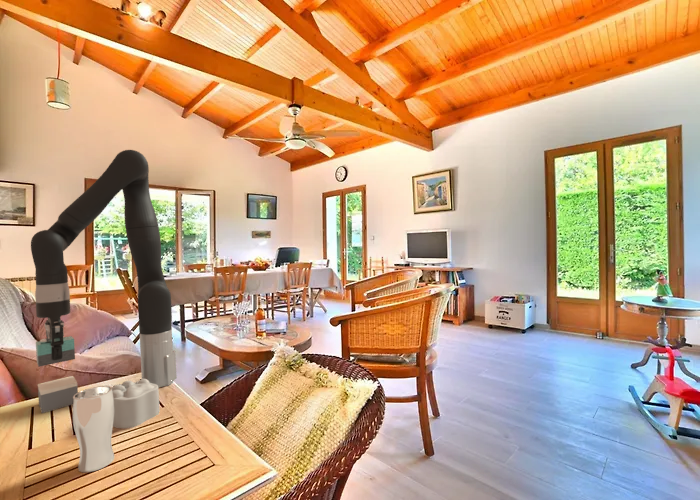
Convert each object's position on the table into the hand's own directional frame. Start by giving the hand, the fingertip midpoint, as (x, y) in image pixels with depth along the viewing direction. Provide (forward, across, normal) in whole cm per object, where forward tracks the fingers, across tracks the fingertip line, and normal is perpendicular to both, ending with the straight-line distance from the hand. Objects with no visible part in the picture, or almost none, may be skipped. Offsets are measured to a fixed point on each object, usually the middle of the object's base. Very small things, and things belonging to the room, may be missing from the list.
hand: (55, 357), depth 100 cm
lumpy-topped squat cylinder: (+14, -26, -12) cm, 32 cm away
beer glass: (+14, -43, -2) cm, 45 cm away
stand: (+14, 0, 0) cm, 14 cm away
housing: (+1, 0, 0) cm, 1 cm away
